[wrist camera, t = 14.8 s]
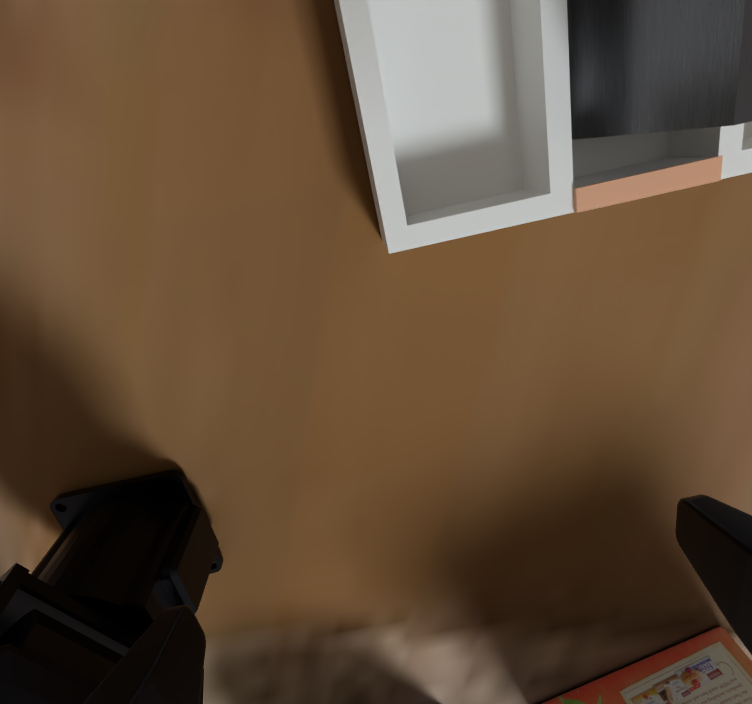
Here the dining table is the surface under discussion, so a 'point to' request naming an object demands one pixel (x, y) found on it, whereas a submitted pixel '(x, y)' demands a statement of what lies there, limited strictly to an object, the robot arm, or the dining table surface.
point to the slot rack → (496, 122)
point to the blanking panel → (658, 65)
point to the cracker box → (676, 676)
